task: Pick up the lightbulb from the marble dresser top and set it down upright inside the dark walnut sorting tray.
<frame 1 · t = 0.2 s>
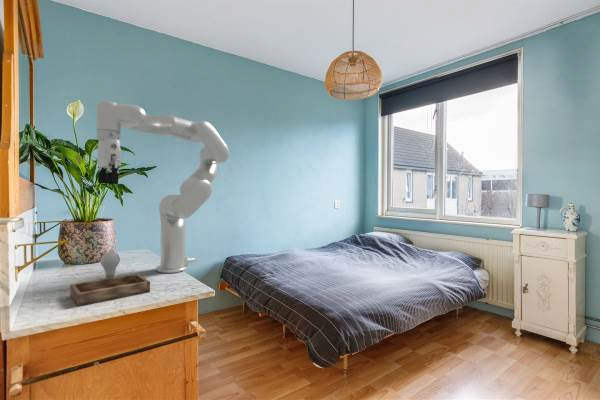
hand: (107, 183, 115), 36 cm above the dresser top, tool pointing down, fingers open, 9 cm apart
lightbulb: (110, 282, 115), on the dresser top
walnut tray: (111, 293, 102), on the dresser top
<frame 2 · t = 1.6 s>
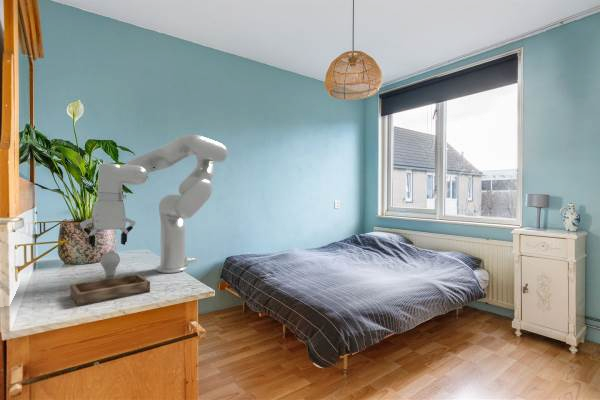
hand: (108, 245, 113), 13 cm above the dresser top, tool pointing down, fingers open, 9 cm apart
nothing on the dresser top moved.
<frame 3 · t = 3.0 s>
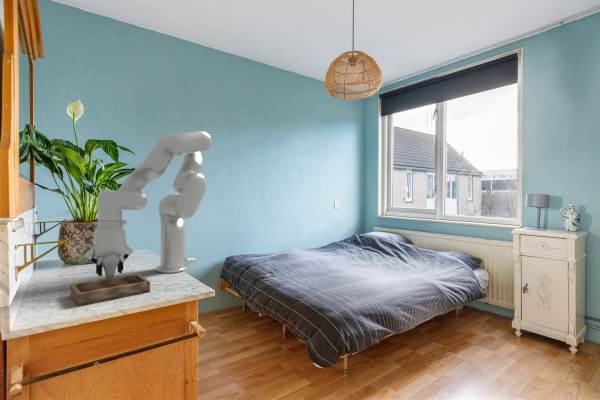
hand: (109, 273, 114), 3 cm above the dresser top, tool pointing down, fingers closed on lightbulb, 5 cm apart
lightbulb: (110, 282, 115), on the dresser top, touching gripper
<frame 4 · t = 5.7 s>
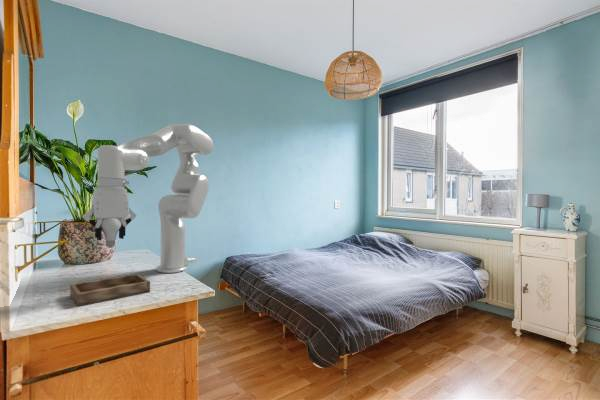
hand: (110, 238, 103), 18 cm above the dresser top, tool pointing down, fingers closed on lightbulb, 5 cm apart
lightbulb: (110, 248, 103), point 15 cm above the dresser top, touching gripper
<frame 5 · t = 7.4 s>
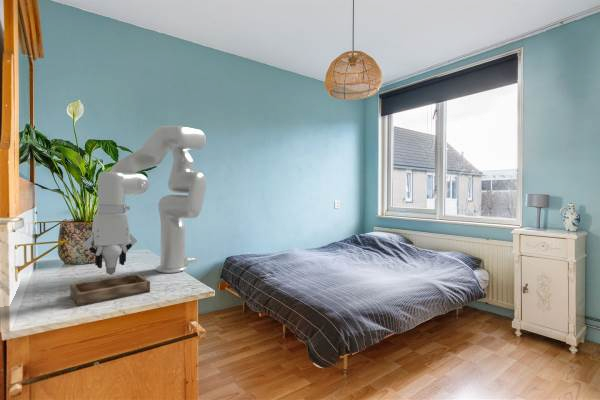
hand: (110, 265, 102), 9 cm above the dresser top, tool pointing down, fingers closed on lightbulb, 5 cm apart
lightbulb: (110, 275, 102), point 6 cm above the dresser top, touching gripper
when the fingers open (5 cm above the dresser top, at t = 8.7 s): lightbulb drops 1 cm, resting on walnut tray.
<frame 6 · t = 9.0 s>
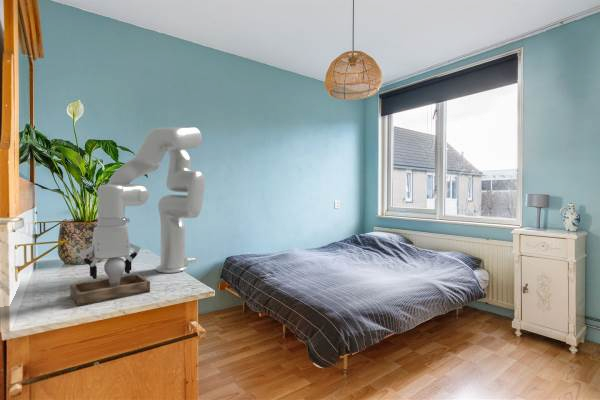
hand: (111, 275, 102), 6 cm above the dresser top, tool pointing down, fingers open, 9 cm apart
lightbulb: (114, 290, 103), point 1 cm above the dresser top, touching walnut tray
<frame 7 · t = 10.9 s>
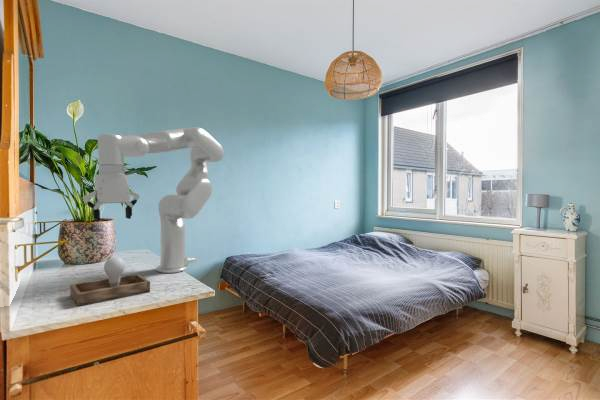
hand: (113, 219, 110), 23 cm above the dresser top, tool pointing down, fingers open, 9 cm apart
nothing on the dresser top moved.
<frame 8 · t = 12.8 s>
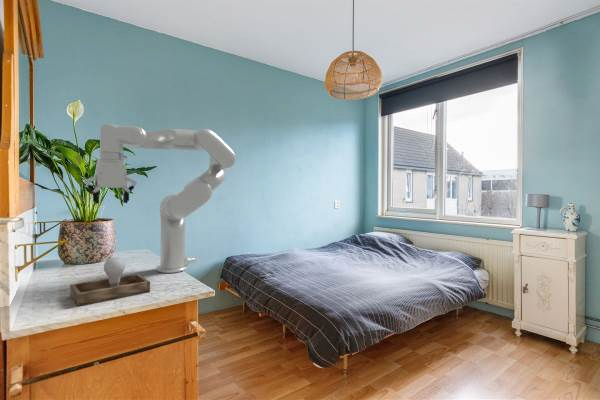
hand: (111, 203, 120), 28 cm above the dresser top, tool pointing down, fingers open, 9 cm apart
nothing on the dresser top moved.
at the end: lightbulb inside the target area on the walnut tray (1.0 cm from its centre), point 0.6 cm above the walnut tray's base; lightbulb tilted 1°; the gripper is holding nothing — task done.
